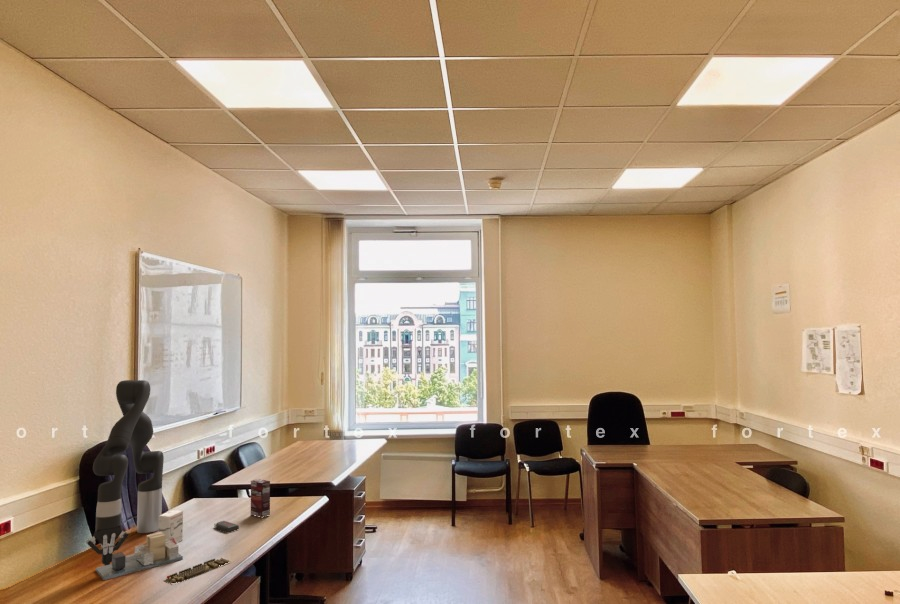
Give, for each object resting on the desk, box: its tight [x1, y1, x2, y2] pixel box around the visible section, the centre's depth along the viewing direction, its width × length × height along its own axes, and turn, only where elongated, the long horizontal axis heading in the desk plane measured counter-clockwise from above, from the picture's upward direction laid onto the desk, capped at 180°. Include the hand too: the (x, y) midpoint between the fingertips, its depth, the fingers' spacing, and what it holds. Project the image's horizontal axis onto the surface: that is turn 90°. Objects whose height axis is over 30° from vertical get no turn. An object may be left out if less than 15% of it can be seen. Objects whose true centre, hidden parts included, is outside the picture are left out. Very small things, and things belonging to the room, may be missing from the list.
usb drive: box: [213, 520, 240, 533], centre depth 235 cm, size 5×12×3 cm, turn 53°
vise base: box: [95, 539, 184, 581], centre depth 196 cm, size 12×25×5 cm, turn 134°
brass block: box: [145, 532, 166, 561], centre depth 200 cm, size 5×5×8 cm
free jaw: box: [111, 543, 154, 570], centre depth 194 cm, size 12×11×4 cm
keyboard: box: [163, 557, 230, 584], centre depth 189 cm, size 22×9×2 cm, turn 147°
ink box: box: [158, 509, 184, 544], centre depth 218 cm, size 9×5×12 cm, turn 168°
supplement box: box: [250, 478, 271, 517], centre depth 253 cm, size 9×5×16 cm, turn 55°
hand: (106, 564), depth 189 cm, fingers closed
